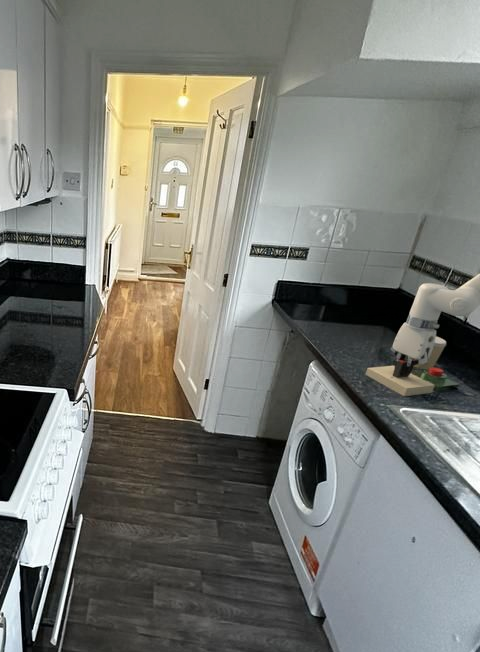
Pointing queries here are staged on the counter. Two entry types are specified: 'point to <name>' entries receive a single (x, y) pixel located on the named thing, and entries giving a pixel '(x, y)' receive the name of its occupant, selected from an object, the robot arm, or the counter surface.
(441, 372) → the stop button
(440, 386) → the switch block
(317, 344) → the counter surface
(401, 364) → the dark brown upright block
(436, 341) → the coffee cup
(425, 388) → the tan rectangular slab
